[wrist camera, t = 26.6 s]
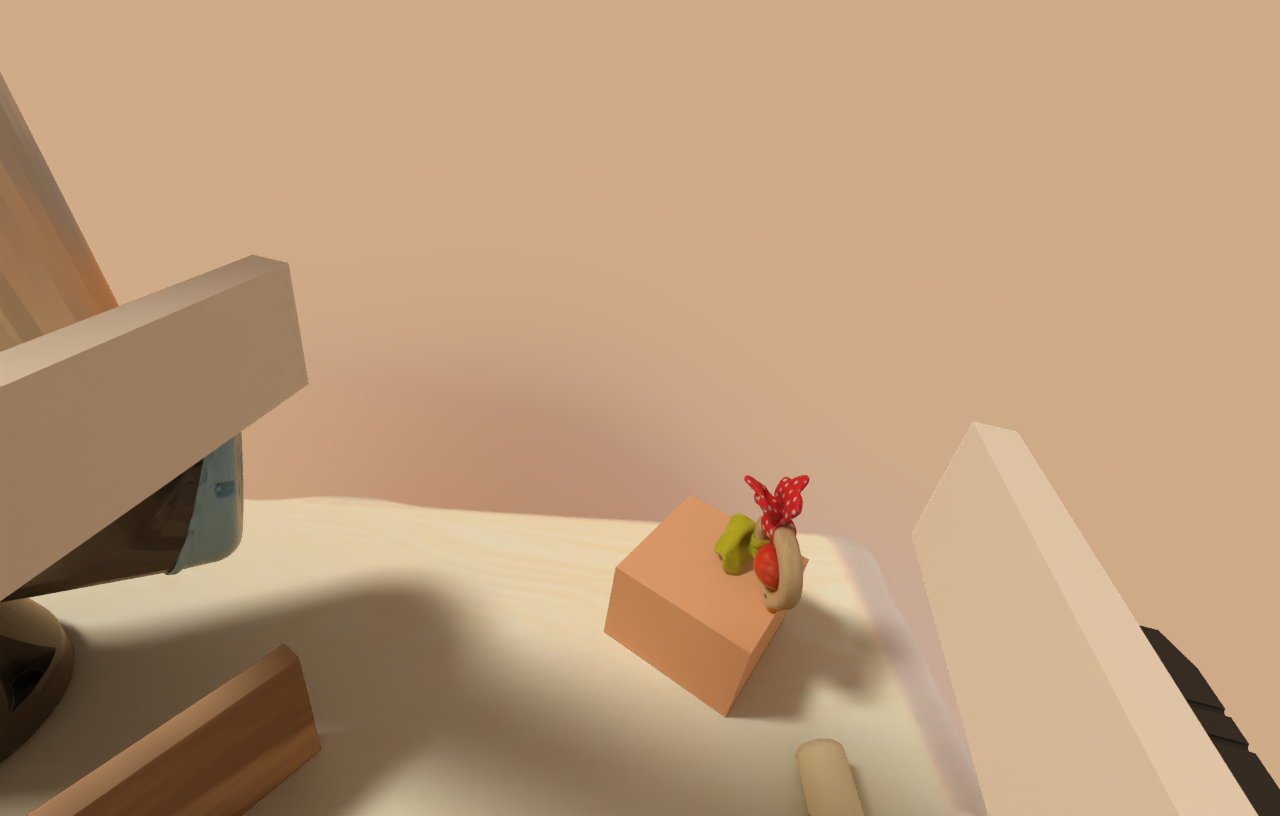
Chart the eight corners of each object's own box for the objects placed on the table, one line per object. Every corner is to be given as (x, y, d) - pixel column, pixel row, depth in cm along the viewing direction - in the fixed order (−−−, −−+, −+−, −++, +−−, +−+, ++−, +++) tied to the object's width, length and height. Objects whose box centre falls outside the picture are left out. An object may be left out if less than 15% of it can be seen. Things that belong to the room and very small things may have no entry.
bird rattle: (800, 621, 48) (770, 516, 53) (875, 577, 39) (830, 456, 44) (729, 629, 47) (704, 521, 51) (790, 586, 38) (753, 459, 42)
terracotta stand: (603, 631, 52) (615, 567, 47) (674, 554, 61) (690, 494, 56) (725, 717, 47) (751, 653, 43) (783, 619, 56) (809, 559, 52)
